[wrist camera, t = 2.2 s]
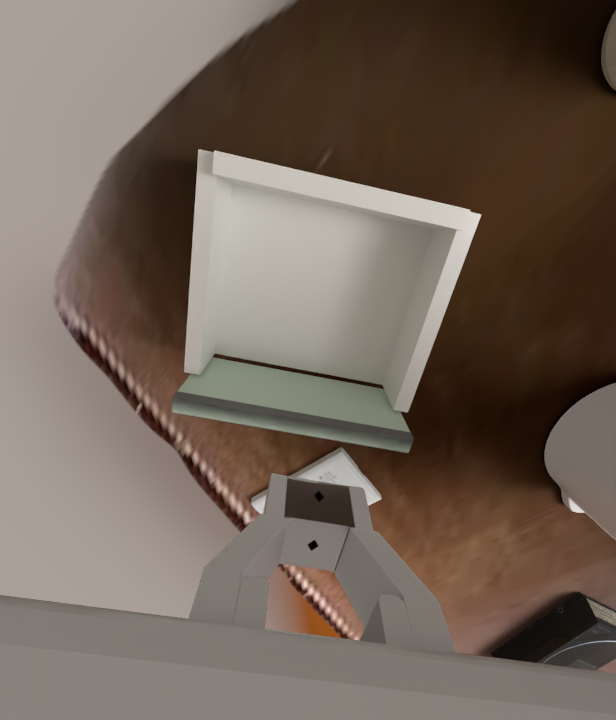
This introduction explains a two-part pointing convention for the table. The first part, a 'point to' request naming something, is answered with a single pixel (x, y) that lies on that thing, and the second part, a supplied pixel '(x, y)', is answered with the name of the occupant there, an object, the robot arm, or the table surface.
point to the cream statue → (609, 52)
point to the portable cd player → (568, 637)
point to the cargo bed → (319, 273)
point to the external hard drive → (330, 476)
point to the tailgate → (293, 404)
